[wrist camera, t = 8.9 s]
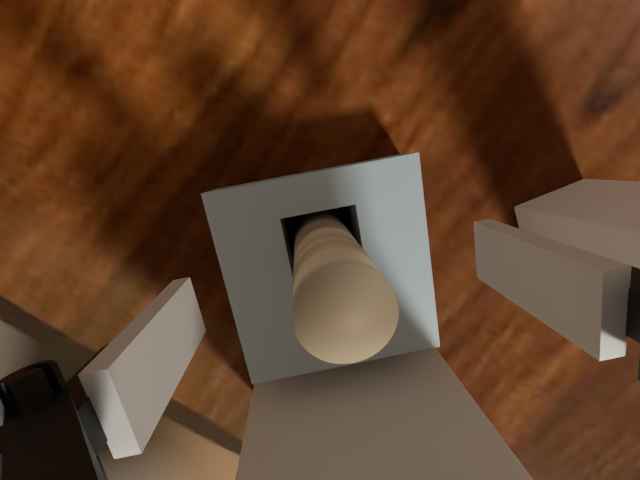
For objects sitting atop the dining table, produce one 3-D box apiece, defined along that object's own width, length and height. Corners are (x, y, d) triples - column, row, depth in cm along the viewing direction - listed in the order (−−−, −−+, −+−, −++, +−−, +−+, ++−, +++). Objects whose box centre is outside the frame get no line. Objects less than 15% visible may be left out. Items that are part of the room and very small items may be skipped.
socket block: (216, 188, 24) (200, 193, 21) (400, 154, 25) (419, 152, 21) (258, 353, 28) (251, 384, 24) (420, 321, 28) (440, 346, 24)
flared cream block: (240, 334, 27) (122, 693, 9) (429, 297, 28) (694, 567, 9) (257, 396, 29) (184, 816, 10) (436, 359, 29) (678, 702, 11)
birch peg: (290, 215, 25) (281, 276, 12) (341, 206, 25) (391, 254, 12) (300, 264, 26) (303, 373, 13) (349, 255, 26) (405, 352, 13)
